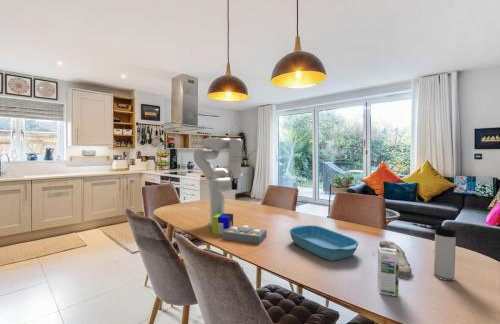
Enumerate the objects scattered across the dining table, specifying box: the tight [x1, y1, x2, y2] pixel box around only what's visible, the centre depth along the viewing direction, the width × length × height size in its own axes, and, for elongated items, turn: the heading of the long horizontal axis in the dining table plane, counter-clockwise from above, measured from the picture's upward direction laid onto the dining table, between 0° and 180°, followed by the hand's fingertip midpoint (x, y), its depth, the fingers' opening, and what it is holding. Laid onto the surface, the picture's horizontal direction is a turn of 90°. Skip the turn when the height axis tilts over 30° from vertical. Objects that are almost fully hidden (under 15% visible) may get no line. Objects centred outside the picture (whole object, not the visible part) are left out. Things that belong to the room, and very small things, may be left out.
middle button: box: [240, 225, 250, 233], centre depth 139 cm, size 4×4×4 cm
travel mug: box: [433, 225, 457, 281], centre depth 95 cm, size 6×7×20 cm
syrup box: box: [377, 246, 400, 298], centre depth 85 cm, size 6×6×14 cm
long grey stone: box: [379, 240, 412, 278], centre depth 111 cm, size 35×5×10 cm
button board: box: [222, 225, 268, 245], centre depth 140 cm, size 12×22×4 cm, turn 69°
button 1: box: [230, 226, 238, 231], centre depth 142 cm, size 4×4×4 cm
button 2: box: [253, 228, 260, 234], centre depth 137 cm, size 4×4×4 cm
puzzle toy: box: [212, 213, 234, 235], centre depth 151 cm, size 10×10×10 cm
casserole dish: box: [289, 224, 360, 261], centre depth 124 cm, size 37×22×7 cm, turn 30°
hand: (234, 189), depth 148 cm, fingers closed
